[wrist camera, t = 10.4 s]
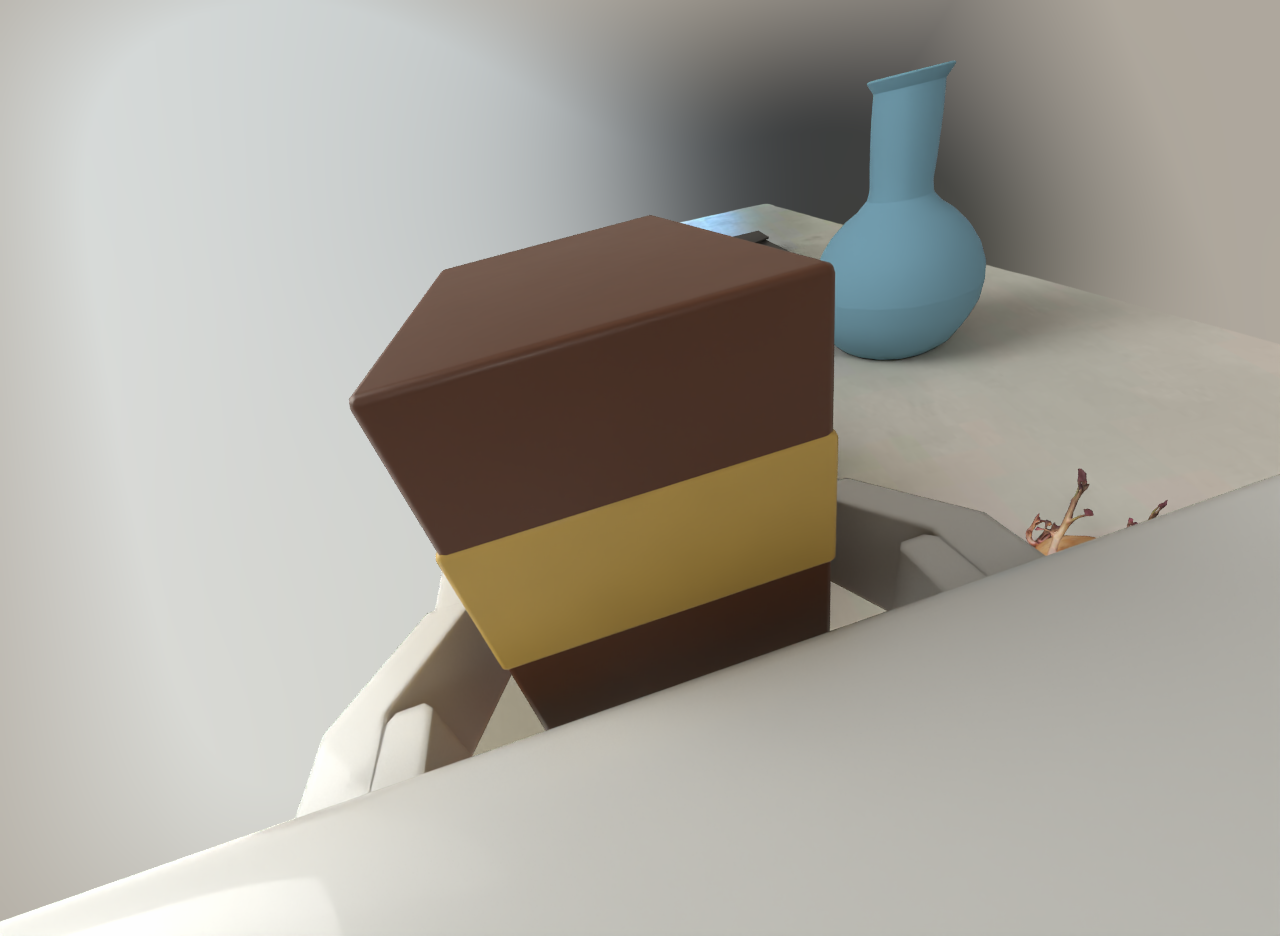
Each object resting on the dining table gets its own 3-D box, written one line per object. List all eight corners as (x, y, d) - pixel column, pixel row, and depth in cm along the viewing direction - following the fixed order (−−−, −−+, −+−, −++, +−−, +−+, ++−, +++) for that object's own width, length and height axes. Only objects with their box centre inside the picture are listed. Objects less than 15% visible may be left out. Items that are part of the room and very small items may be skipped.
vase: (865, 388, 49) (884, 77, 35) (787, 341, 62) (779, 104, 49) (1012, 344, 50) (1086, 26, 36) (904, 307, 64) (927, 67, 50)
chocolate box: (641, 896, 10) (332, 404, 3) (596, 647, 15) (437, 270, 9) (830, 824, 10) (846, 258, 4) (721, 604, 15) (654, 212, 9)
